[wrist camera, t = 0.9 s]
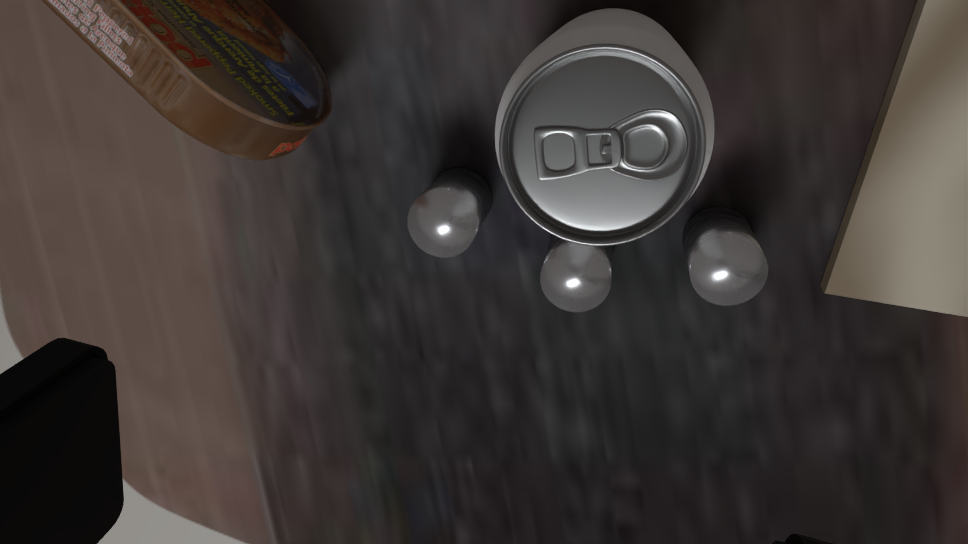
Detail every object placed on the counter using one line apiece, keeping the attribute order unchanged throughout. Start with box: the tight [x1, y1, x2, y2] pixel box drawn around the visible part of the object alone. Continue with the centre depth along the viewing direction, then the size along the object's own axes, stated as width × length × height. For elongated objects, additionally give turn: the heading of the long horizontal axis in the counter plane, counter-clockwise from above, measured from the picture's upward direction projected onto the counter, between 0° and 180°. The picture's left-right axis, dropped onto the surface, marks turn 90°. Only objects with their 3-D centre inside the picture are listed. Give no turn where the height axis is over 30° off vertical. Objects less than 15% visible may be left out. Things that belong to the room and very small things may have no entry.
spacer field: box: [408, 167, 768, 312], centre depth 28 cm, size 15×18×4 cm
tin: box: [42, 0, 332, 160], centre depth 27 cm, size 15×3×8 cm, turn 44°
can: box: [495, 8, 714, 246], centre depth 24 cm, size 6×6×12 cm
